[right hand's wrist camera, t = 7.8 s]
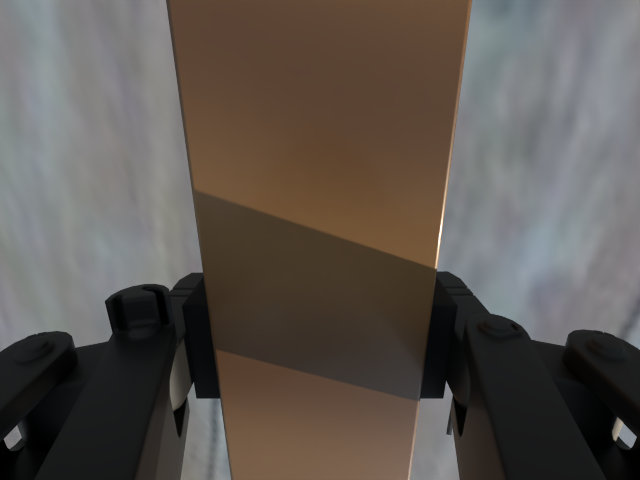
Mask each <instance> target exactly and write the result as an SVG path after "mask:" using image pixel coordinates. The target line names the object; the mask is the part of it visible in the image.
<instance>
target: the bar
mask: <svg viewBox="0 0 640 480" xmlns="http://www.w3.org/2000/svg"><path fill="white" fill-rule="evenodd" d="M166 3H167V10H168V18H169V25H170V32H171V40H172V47H173V54H174V62H175V69H176V76H177V84H178V91H179V98H180V106H181V113H182V120H183V128H184V135H185V143H186V150H187V157H188V165H189V172H190V179H191V187H192V194H193V201H194V209H195V216H196V223H197V231H198V238H199V246H200V253H201V260H202V268H203V275H204V282H205V290H206V297H207V304H208V312H209V319H210V326H211V334H212V341H213V348H214V356H215V363H216V371H217V378H218V385H219V393H220V400H221V407H222V415H223V422H224V429H225V437H226V444H227V451H228V459H229V466H230V473H231V480H410V473H411V465H412V457H413V450H414V442H415V434H416V427H417V419H418V411H419V404H420V396H421V388H422V381H423V373H424V365H425V358H426V350H427V342H428V335H429V327H430V319H431V312H432V304H433V296H434V289H435V281H436V273H437V266H438V258H439V250H440V242H441V235H442V227H443V219H444V212H445V204H446V196H447V189H448V181H449V173H450V166H451V158H452V150H453V143H454V135H455V127H456V120H457V112H458V104H459V97H460V89H461V81H462V74H463V66H464V58H465V51H466V43H467V35H468V28H469V20H470V12H471V5H472V0H166Z"/></svg>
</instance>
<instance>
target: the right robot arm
mask: <svg viewBox="0 0 640 480" xmlns="http://www.w3.org/2000/svg"><path fill="white" fill-rule="evenodd" d="M105 304H106V308H107V312H108V316H109V320H110V324H111V328H112V332H113V334H112V335H111V337H110V339H109V341H108V342H103V343H98V344H93V345H88V346H82V347H77V348H75V345H74V342H73V339H72V336H71V335H69V334H68V333H67V332H59V331H54V332H43V333H38V334H37V335H36V334H34V335H31V336H28V337H26V338H25V339H23V340H20V341H18V342H15V343H14V344H12V345H11V346H9V347H7V348H6V349H4V350H2V351H1V352H0V480H180V478H181V471H182V463H183V456H184V449H185V441H186V434H187V427H188V419H189V412H190V410H189V403H188V397H187V395H188V393H189V391H190V388H191V386H192V384H193V382H194V385H195V392H196V398H220V393H219V385H218V378H217V371H216V363H215V356H214V348H213V341H212V334H211V326H210V319H209V312H208V304H207V297H206V290H205V282H204V275H203V273H191V274H189V275H187V276H186V277H184V278H182V279H180V280H179V281H178V282H177V284H176V285H175V286H174V287H173V290H171V291H170V292H169V289H168V288H167V287H165V286H163V285H158V284H143V285H138V286H132V287H129V288H126V289H123V290H120V291H118V292H117V293H115V294H113V295H111V296H110V297H109V298H108V299H107V300H106V301H105ZM446 381H447V383H448V385H449V387H450V389H451V391H452V394H453V397H452V403H451V409H450V415H449V421H448V427H447V434H448V435H451V433H452V428H453V433H454V441H455V448H456V455H457V463H458V470H459V477H460V480H640V350H639V349H638V348H636V347H634V346H633V345H631V344H629V343H628V342H626V341H624V340H622V339H619V338H617V337H615V336H614V335H612V334H608V333H605V332H604V333H603V332H601V331H596V330H594V331H592V330H576V331H573V332H571V333H570V334H568V338H567V341H566V344H565V346H561V345H555V344H550V343H545V342H539V341H535V340H531V339H530V337H529V335H528V333H527V332H526V331H525V330H524V328H523V327H522V326H520V325H519V324H517V323H516V322H514V321H513V320H510V319H508V318H505V317H503V316H499V315H494V314H490V313H489V312H488V310H487V309H486V308H485V307H484V306H483V305H482V303H481V302H480V301H479V300H478V299H477V298H476V296H473V293H472V292H471V291H470V289H467V286H466V285H465V284H464V282H463V281H462V280H461V279H460V278H458V277H456V276H455V275H453V274H451V273H449V272H437V273H436V281H435V289H434V296H433V304H432V312H431V319H430V327H429V335H428V342H427V350H426V358H425V365H424V373H423V381H422V388H421V396H420V398H443V396H444V390H445V384H446ZM623 423H624V424H625V425H626V426H627V427H628V428H629V429H630V430H631V431H632V432H633V433H634V434H635V435H636V436H637V438H636V441H635V443H634V445H633V447H632V448H630V447H629V446H627V445H626V444H625V443H624V442H623V441H622V440H621V439H620V438H619V437H618V435H619V433H620V430H621V428H622V425H623ZM16 425H17V426H18V428H19V431H20V433H21V436H22V438H21V439H20V441H19V442H18V443H17V444H16V445H15V446H13V447H12V448H11V449H8V448H7V446H6V444H5V442H4V438H5V437H6V436H7V435H8V434H9V433H10V432H11V431H12V430H13V429H14V428H15V426H16Z"/></svg>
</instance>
